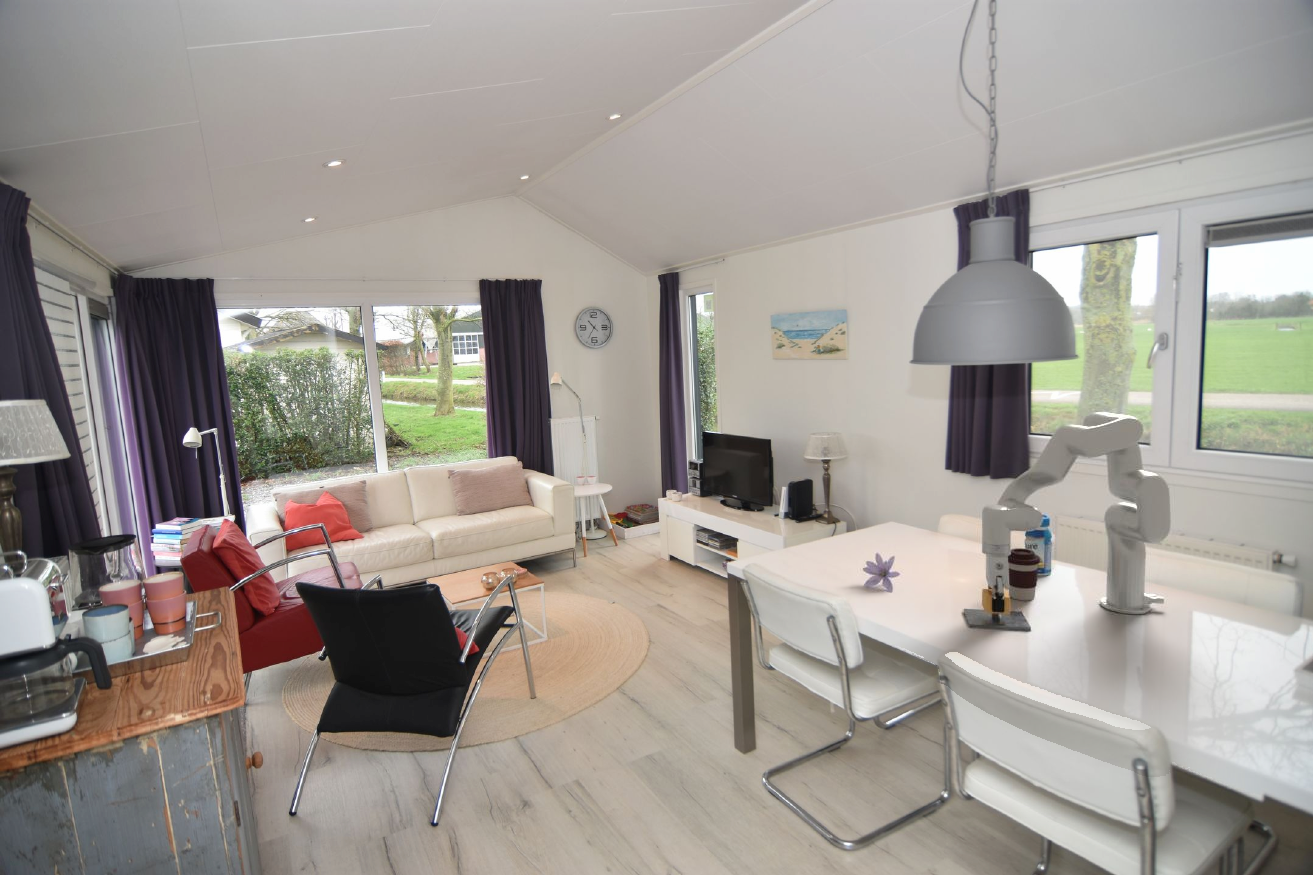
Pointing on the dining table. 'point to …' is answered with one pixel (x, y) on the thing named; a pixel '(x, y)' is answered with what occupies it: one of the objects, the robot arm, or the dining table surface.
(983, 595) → the orange hollow square block
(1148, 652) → the dining table surface
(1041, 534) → the beverage bottle
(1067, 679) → the dining table surface
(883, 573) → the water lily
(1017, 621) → the keeper
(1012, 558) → the coffee cup
